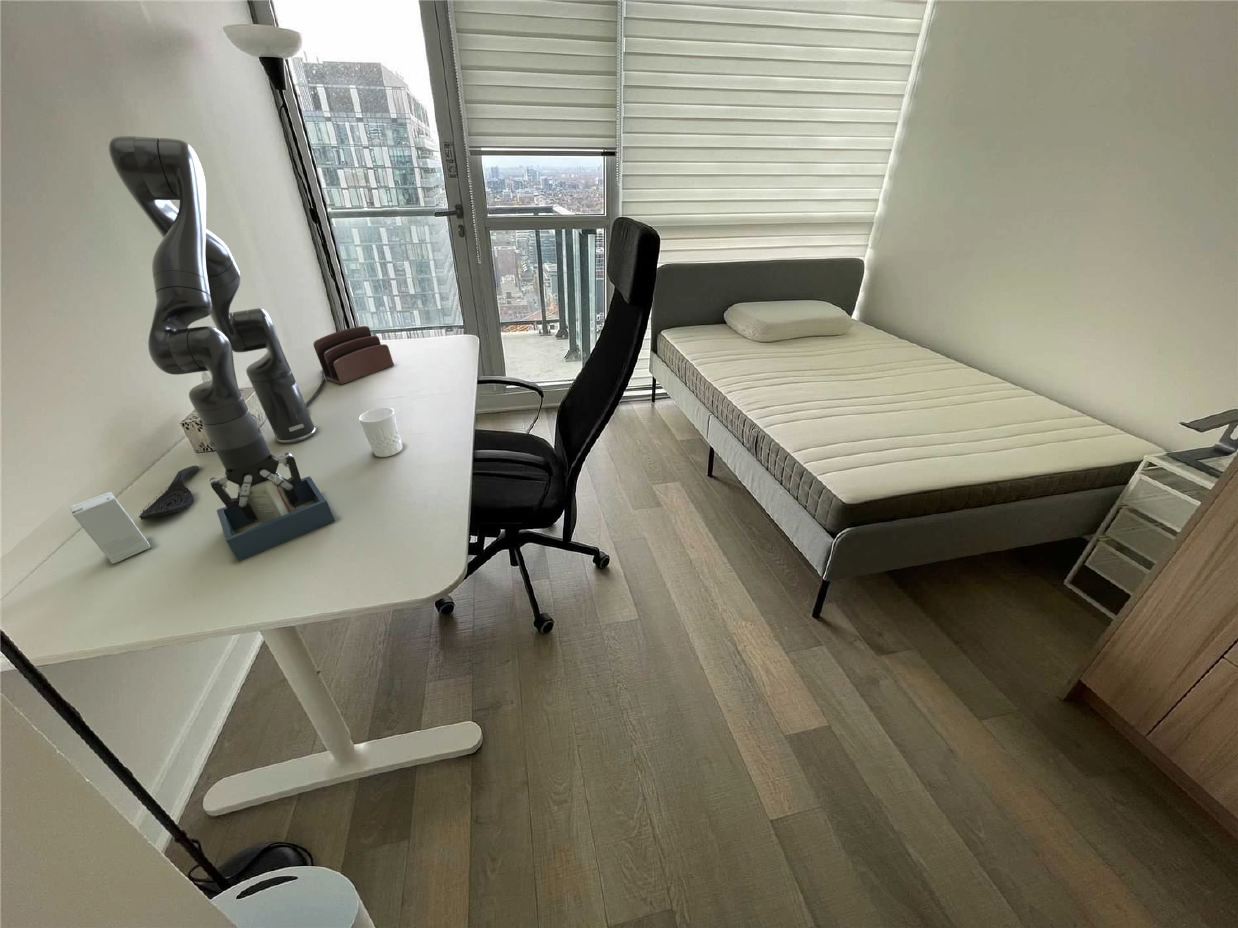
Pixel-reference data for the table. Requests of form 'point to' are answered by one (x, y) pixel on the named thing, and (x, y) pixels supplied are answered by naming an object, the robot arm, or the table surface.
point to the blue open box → (276, 523)
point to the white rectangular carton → (269, 501)
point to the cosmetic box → (110, 527)
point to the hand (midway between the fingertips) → (274, 510)
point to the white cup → (381, 431)
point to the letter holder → (351, 354)
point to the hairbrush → (172, 496)
